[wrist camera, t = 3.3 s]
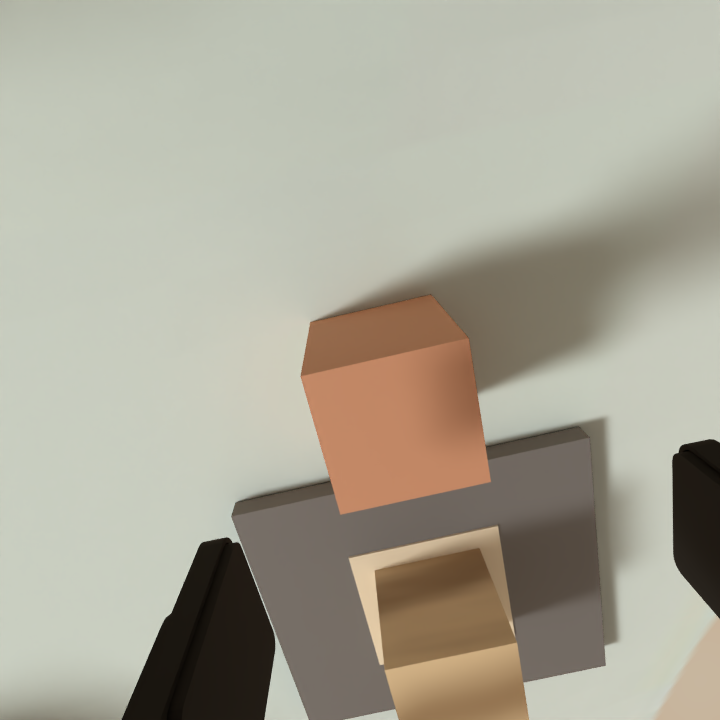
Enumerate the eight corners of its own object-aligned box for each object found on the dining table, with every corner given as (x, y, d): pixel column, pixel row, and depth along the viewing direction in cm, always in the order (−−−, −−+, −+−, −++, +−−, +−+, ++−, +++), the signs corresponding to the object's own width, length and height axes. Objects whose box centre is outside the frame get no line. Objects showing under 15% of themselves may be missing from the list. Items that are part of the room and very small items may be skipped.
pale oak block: (374, 570, 23) (384, 670, 18) (479, 547, 23) (517, 642, 18) (395, 647, 25) (409, 756, 20) (493, 626, 24) (530, 731, 20)
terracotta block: (310, 321, 20) (300, 376, 14) (430, 294, 20) (468, 338, 14) (339, 428, 22) (340, 514, 16) (450, 404, 22) (490, 481, 16)
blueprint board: (235, 502, 23) (230, 517, 22) (578, 426, 22) (591, 438, 21) (312, 707, 27) (311, 727, 26) (596, 648, 27) (606, 667, 26)
